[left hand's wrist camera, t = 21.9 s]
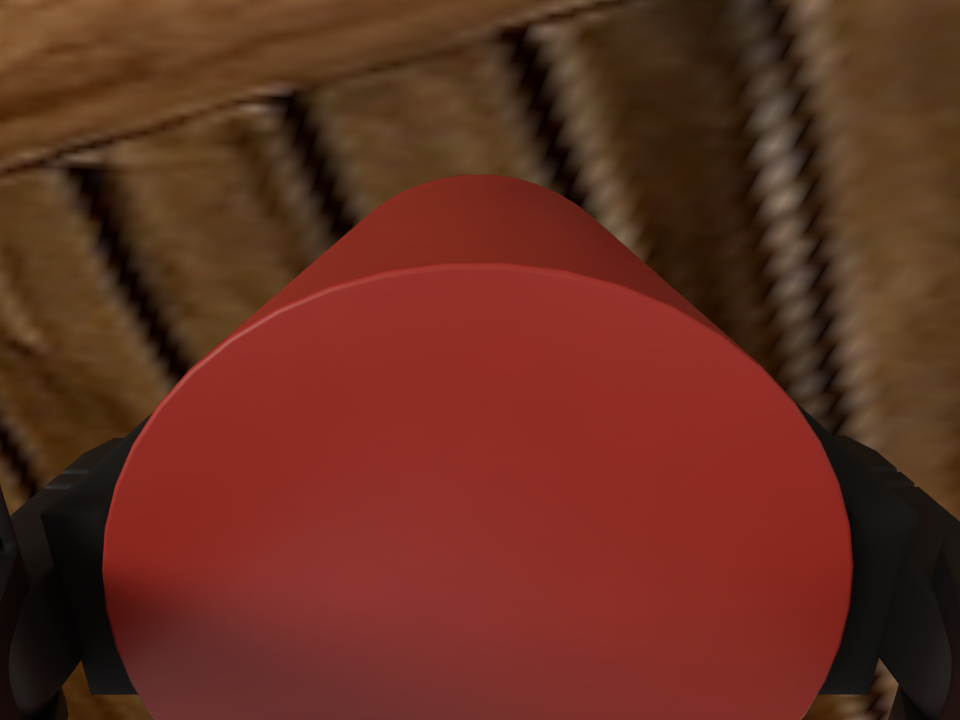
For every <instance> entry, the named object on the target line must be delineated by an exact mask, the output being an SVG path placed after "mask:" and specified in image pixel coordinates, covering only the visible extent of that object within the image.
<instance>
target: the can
mask: <svg viewBox="0 0 960 720" xmlns="http://www.w3.org/2000/svg"><path fill="white" fill-rule="evenodd" d="M102 573H103V584H104V594H105V604H106V611H107V615H108V619H109V623H110V627H111V630H112V634H113V638H114V642H115V646H116V649H117V651H118V653H119V656H120V658H121V660H122V663H123V665H124V667H125V670H126V672H127V674H128V676H129V679H130V681H131V683H132V685H133V687H134V688H135V690H136V692H137V693H138V695H139V696H140V698H141V700H142V701H143V703H144V705H145V706H146V708H147V710H148V711H149V713H150V714H151V716H152V717H153V719H154V720H802V718H803V717H804V716H805V714H806V713H807V711H808V710H809V708H810V706H811V705H812V703H813V701H814V700H815V698H816V696H817V694H818V693H819V691H820V689H821V688H822V686H823V684H824V683H825V681H826V679H827V676H828V674H829V672H830V669H831V667H832V664H833V662H834V660H835V657H836V655H837V652H838V650H839V648H840V645H841V641H842V637H843V633H844V629H845V625H846V621H847V617H848V613H849V609H850V601H851V589H852V577H853V557H852V545H851V533H850V524H849V520H848V516H847V512H846V508H845V504H844V500H843V496H842V492H841V489H840V485H839V481H838V479H837V477H836V475H835V472H834V470H833V468H832V466H831V463H830V461H829V459H828V457H827V454H826V452H825V450H824V448H823V445H822V443H821V441H820V440H819V438H818V437H817V435H816V434H815V432H814V431H813V429H812V428H811V426H810V425H809V423H808V421H807V420H806V418H805V417H804V415H803V414H802V412H801V411H800V409H799V408H798V406H797V405H796V403H795V402H794V401H793V400H792V399H791V398H790V397H789V395H788V394H787V393H786V392H785V391H784V390H783V389H782V388H781V387H780V386H779V385H778V383H777V382H776V381H775V380H774V379H773V378H772V377H771V376H770V375H769V374H768V373H767V371H766V370H765V369H764V368H763V367H762V366H761V365H760V364H759V363H757V362H756V361H755V360H754V359H753V358H752V357H751V356H750V355H748V354H747V353H746V352H745V351H744V350H743V349H742V348H740V347H739V346H738V345H737V344H736V343H735V342H734V341H733V340H731V339H730V338H729V337H728V336H727V335H726V334H725V333H723V332H722V331H721V330H720V329H719V328H718V327H717V326H715V325H714V324H713V323H712V322H711V321H710V320H709V319H708V318H706V317H705V316H704V315H703V314H702V313H701V312H700V311H698V310H697V309H696V308H695V307H694V306H693V305H692V304H690V303H689V302H688V301H687V300H686V299H685V298H684V297H683V296H681V295H680V294H679V293H678V292H677V291H676V290H675V289H673V288H672V287H671V286H670V285H669V284H668V283H667V282H666V281H664V280H663V279H662V278H661V277H660V276H659V275H658V274H656V273H655V272H654V271H653V270H652V269H651V268H650V267H648V266H647V265H646V264H645V263H644V262H643V261H642V260H641V259H639V258H638V257H637V256H636V255H635V254H634V253H633V252H631V251H630V250H629V249H628V248H627V247H626V246H625V245H623V244H622V243H621V242H620V241H619V240H618V239H617V238H616V237H614V236H613V235H612V234H611V233H610V232H609V231H608V230H606V229H605V228H604V227H603V226H602V225H601V224H600V223H598V222H597V221H596V220H595V219H594V218H593V217H591V216H590V215H589V214H588V213H586V212H585V211H584V210H583V209H582V208H580V207H579V206H578V205H576V204H575V203H573V202H571V201H570V200H568V199H566V198H565V197H563V196H561V195H560V194H558V193H556V192H554V191H551V190H549V189H547V188H544V187H542V186H540V185H537V184H534V183H531V182H527V181H523V180H520V179H516V178H511V177H504V176H496V175H461V176H454V177H447V178H442V179H438V180H435V181H431V182H428V183H424V184H420V185H418V186H416V187H414V188H411V189H409V190H407V191H404V192H402V193H400V194H398V195H396V196H395V197H393V198H391V199H390V200H388V201H387V202H385V203H383V204H382V205H380V206H379V207H377V208H376V209H375V210H374V211H373V212H371V213H370V214H369V215H368V216H367V217H365V218H364V219H363V220H362V221H361V222H359V223H358V224H357V225H356V226H355V227H354V228H353V229H351V230H350V231H349V232H348V233H347V234H346V235H344V236H343V237H342V238H341V239H340V240H339V241H338V242H336V243H335V244H334V245H333V246H332V247H331V248H329V249H328V250H327V251H326V252H325V253H324V254H322V255H321V256H320V257H319V258H318V259H317V260H316V261H314V262H313V263H312V264H311V265H310V266H309V267H307V268H306V269H305V270H304V271H303V272H302V273H301V274H299V275H298V276H297V277H296V278H295V279H294V280H292V281H291V282H290V283H289V284H288V285H287V286H286V287H284V288H283V289H282V290H281V291H280V292H279V293H277V294H276V295H275V296H274V297H273V298H272V299H271V300H269V301H268V302H267V303H266V304H265V305H264V306H262V307H261V308H260V309H259V310H258V311H257V312H255V313H254V314H253V315H252V316H251V317H250V318H249V319H247V320H246V321H245V322H244V323H243V324H242V325H240V326H239V327H238V328H237V329H236V330H235V331H234V332H232V333H231V334H230V335H229V336H228V337H227V338H225V339H224V340H223V341H222V342H221V343H220V344H219V345H217V346H216V347H215V348H214V349H213V350H212V351H210V352H209V353H208V354H207V355H206V356H205V357H204V358H202V359H201V360H200V361H199V362H198V363H197V364H195V365H194V366H193V367H192V368H191V369H190V370H189V371H188V372H187V373H186V374H185V376H184V377H183V378H182V379H181V380H180V381H179V382H178V383H177V384H176V386H175V387H174V388H173V389H172V390H171V391H170V392H169V393H168V395H167V396H166V397H165V398H164V399H163V400H162V401H161V402H160V403H159V405H158V406H157V407H156V409H155V411H154V412H153V414H152V415H151V417H150V418H149V420H148V422H147V423H146V425H145V426H144V428H143V429H142V431H141V432H140V434H139V436H138V437H137V439H136V440H135V442H134V443H133V445H132V447H131V450H130V452H129V455H128V457H127V459H126V462H125V464H124V466H123V469H122V471H121V473H120V476H119V478H118V480H117V483H116V485H115V489H114V493H113V497H112V501H111V505H110V510H109V514H108V518H107V522H106V526H105V536H104V551H103V566H102Z"/></svg>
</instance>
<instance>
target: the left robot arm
mask: <svg viewBox="0 0 960 720" xmlns="http://www.w3.org/2000/svg"><path fill="white" fill-rule="evenodd" d="M795 403H796V402H795ZM796 405H797V406H798V408H799V409H800V411H801V412H802V414H803V415H804V417H805V418H806V420H807V421H808V423H809V425H810V426H811V428H812V429H813V431H814V432H815V434H816V435H817V437H818V438H819V440H820V441H821V443H822V445H823V448H824V450H825V452H826V454H827V457H828V459H829V461H830V463H831V466H832V468H833V470H834V472H835V475H836V477H837V479H838V481H839V485H840V489H841V492H842V496H843V500H844V504H845V508H846V512H847V516H848V520H849V524H850V533H851V545H852V557H853V577H852V589H851V601H850V609H849V613H848V617H847V621H846V625H845V629H844V633H843V637H842V641H841V645H840V648H839V650H838V652H837V655H836V657H835V660H834V662H833V664H832V667H831V669H830V672H829V674H828V676H827V679H826V681H825V683H824V684H823V686H822V688H821V689H820V691H819V693H818V694H869V690H870V687H871V683H872V680H873V676H874V673H875V669H876V666H877V662H878V659H879V658H880V659H881V661H882V662H883V663H884V665H885V666H886V667H887V669H888V670H889V671H890V673H891V674H892V676H893V677H894V678H895V680H896V681H897V682H898V684H899V686H898V689H897V693H896V696H895V699H894V702H893V706H892V709H891V712H890V715H889V719H888V720H960V521H958V520H957V519H956V518H955V517H954V516H952V515H951V514H950V513H949V512H948V511H946V510H945V509H944V508H943V507H942V506H941V505H939V504H938V503H937V502H936V501H935V500H933V499H932V498H931V497H930V496H929V495H928V494H926V493H925V492H924V491H923V490H922V489H920V488H919V487H914V483H913V482H912V481H911V480H910V479H909V478H907V477H906V476H905V475H904V474H903V473H901V472H897V468H895V467H894V466H893V465H892V464H891V463H890V462H888V461H887V460H886V459H885V458H884V457H882V456H881V455H880V454H879V453H878V452H877V451H875V450H873V449H871V448H869V447H867V446H865V445H863V444H861V443H859V442H857V441H855V440H853V439H851V438H849V437H847V436H832V435H831V434H830V433H829V432H828V431H827V430H825V429H824V428H823V427H822V426H821V425H820V424H819V423H818V422H817V421H816V420H814V419H813V418H812V417H811V416H810V415H809V414H808V413H807V412H806V411H804V410H803V409H802V408H801V407H800V406H799V405H798V404H797V403H796ZM152 414H153V413H152ZM152 414H151V415H152ZM151 415H150V416H148V417H147V418H146V419H145V420H144V421H143V422H142V423H141V424H140V425H138V426H137V427H136V428H135V429H134V430H133V431H132V432H131V433H130V434H129V435H127V436H126V437H125V438H114V439H112V440H110V441H108V442H106V443H104V444H102V445H100V446H98V447H96V448H94V449H92V450H90V451H88V452H86V453H84V454H83V455H82V456H80V457H79V458H78V459H77V460H76V461H75V462H73V463H72V464H71V465H70V466H69V467H67V468H66V469H65V470H64V471H63V472H64V473H63V474H59V475H58V476H57V477H56V478H55V479H53V480H52V481H51V482H50V483H49V484H47V485H46V490H40V491H39V492H38V493H37V494H36V495H35V496H33V497H32V498H31V499H30V500H29V501H27V502H26V503H25V504H24V505H23V506H22V507H20V508H19V509H18V510H17V511H16V512H15V513H13V514H12V515H11V516H9V512H8V509H7V506H6V503H5V499H4V496H3V493H2V489H1V486H0V720H68V710H67V703H66V699H65V696H64V693H63V689H62V685H63V684H64V683H65V681H66V680H67V679H68V677H69V676H70V674H71V673H72V672H73V670H74V669H75V668H76V666H77V665H78V664H79V662H80V661H82V664H83V668H84V671H85V675H86V678H87V682H88V685H89V689H90V692H91V694H138V693H137V692H136V690H135V688H134V687H133V685H132V683H131V681H130V679H129V676H128V674H127V672H126V670H125V667H124V665H123V663H122V660H121V658H120V656H119V653H118V651H117V649H116V646H115V642H114V638H113V634H112V630H111V627H110V623H109V619H108V615H107V611H106V604H105V594H104V584H103V573H102V566H103V551H104V536H105V526H106V522H107V518H108V514H109V510H110V505H111V501H112V497H113V493H114V489H115V485H116V483H117V480H118V478H119V476H120V473H121V471H122V469H123V466H124V464H125V462H126V459H127V457H128V455H129V452H130V450H131V447H132V445H133V443H134V442H135V440H136V439H137V437H138V436H139V434H140V432H141V431H142V429H143V428H144V426H145V425H146V423H147V422H148V420H149V418H150V417H151Z"/></svg>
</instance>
